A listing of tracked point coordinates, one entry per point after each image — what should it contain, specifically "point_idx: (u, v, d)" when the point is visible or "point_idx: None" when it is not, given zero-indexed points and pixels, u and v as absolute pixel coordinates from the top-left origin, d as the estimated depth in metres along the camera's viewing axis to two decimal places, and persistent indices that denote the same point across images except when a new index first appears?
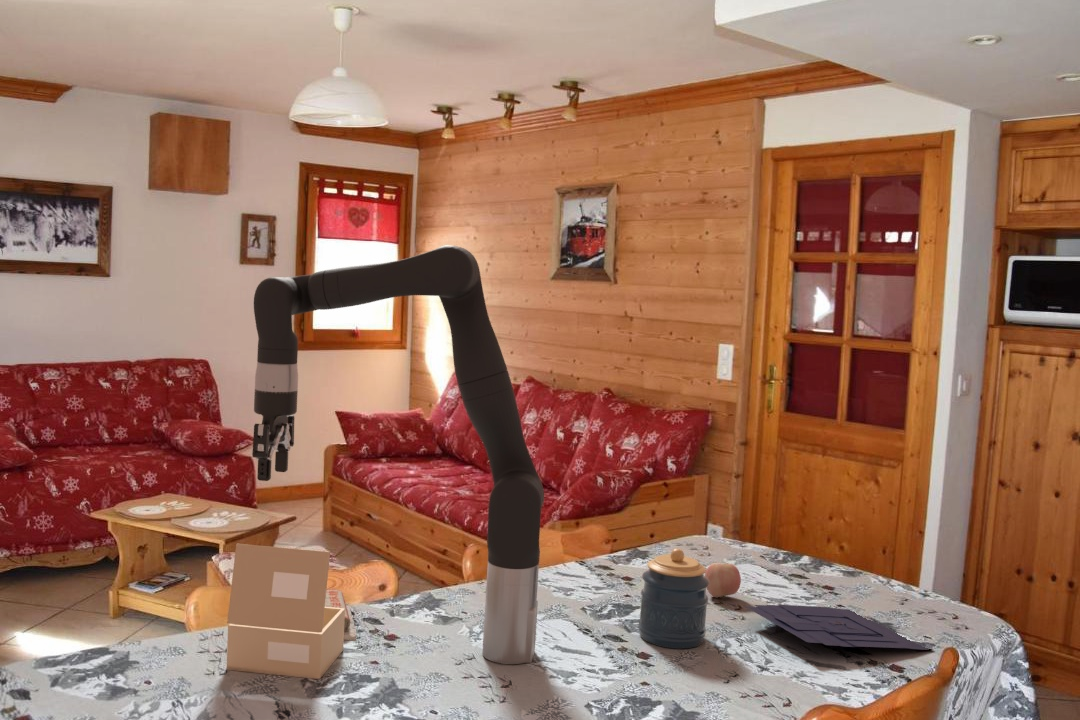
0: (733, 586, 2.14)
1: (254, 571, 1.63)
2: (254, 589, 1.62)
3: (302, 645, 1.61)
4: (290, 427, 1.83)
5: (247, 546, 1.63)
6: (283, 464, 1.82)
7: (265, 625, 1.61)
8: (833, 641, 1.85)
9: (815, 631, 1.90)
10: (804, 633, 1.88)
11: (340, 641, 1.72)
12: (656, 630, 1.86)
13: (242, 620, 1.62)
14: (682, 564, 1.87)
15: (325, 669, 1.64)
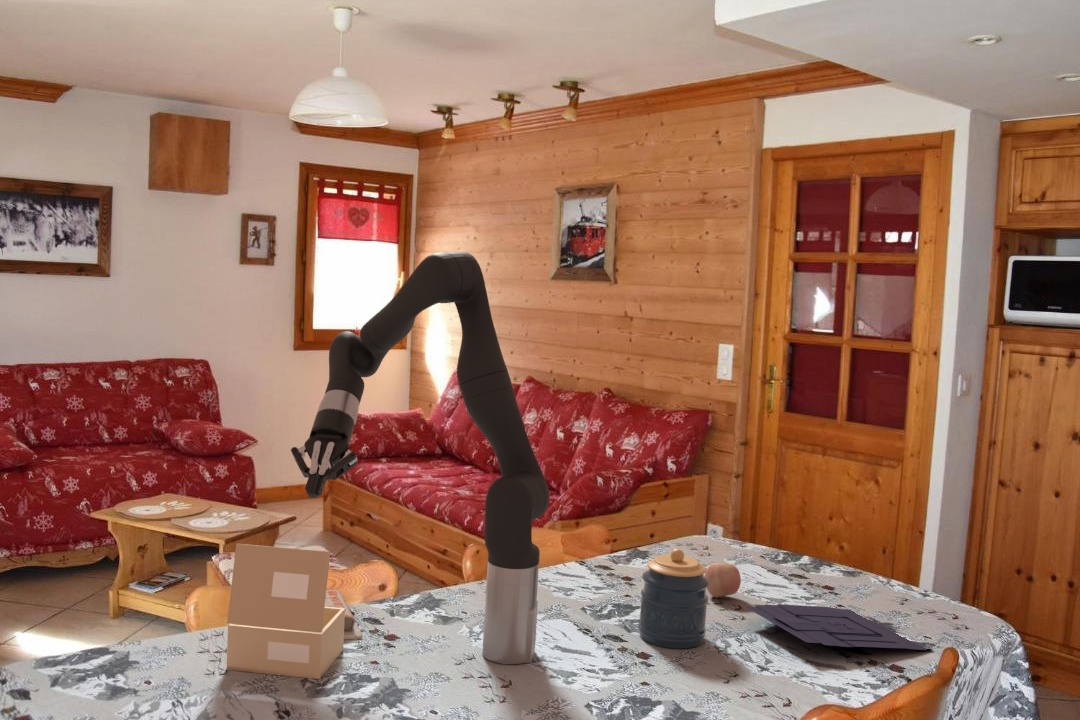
0: (733, 586, 2.14)
1: (254, 571, 1.63)
2: (254, 589, 1.62)
3: (302, 645, 1.61)
4: None
5: (247, 546, 1.63)
6: None
7: (265, 625, 1.61)
8: (832, 641, 1.85)
9: (814, 631, 1.90)
10: (803, 633, 1.88)
11: (340, 641, 1.72)
12: (656, 630, 1.86)
13: (242, 620, 1.62)
14: (682, 564, 1.87)
15: (325, 669, 1.64)
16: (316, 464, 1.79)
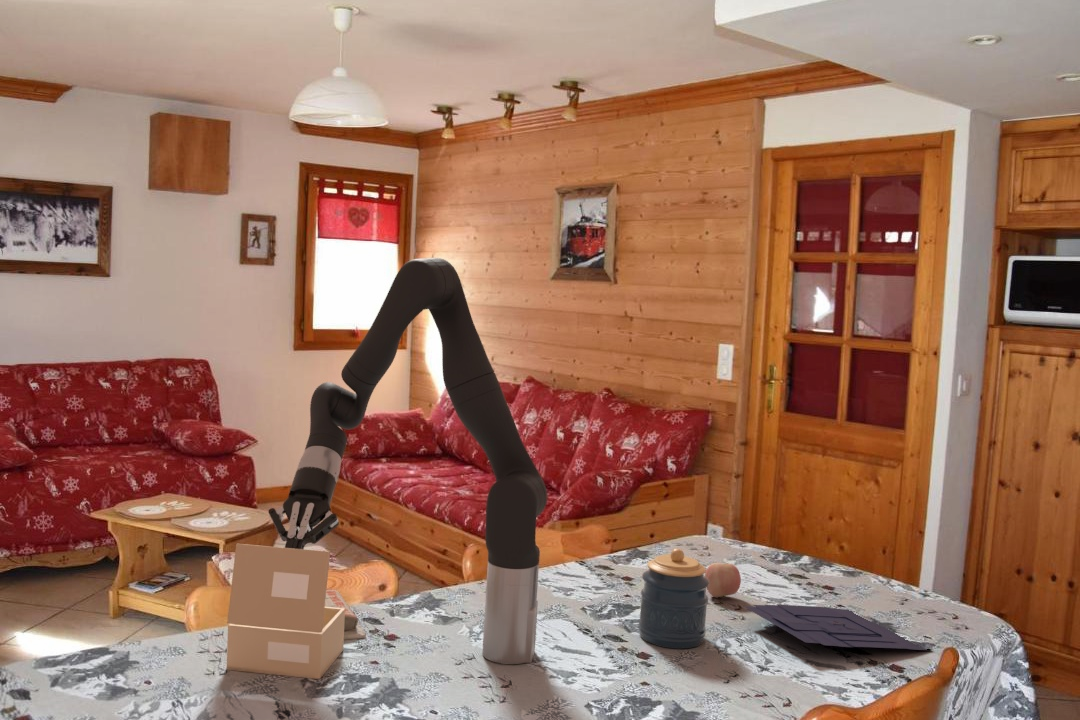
0: (733, 586, 2.14)
1: (254, 571, 1.63)
2: (254, 589, 1.62)
3: (302, 645, 1.61)
4: None
5: (247, 546, 1.63)
6: None
7: (265, 625, 1.61)
8: (831, 641, 1.85)
9: (813, 631, 1.90)
10: (802, 633, 1.88)
11: (340, 641, 1.72)
12: (656, 630, 1.86)
13: (242, 620, 1.62)
14: (682, 564, 1.87)
15: (325, 669, 1.64)
16: (295, 527, 1.70)
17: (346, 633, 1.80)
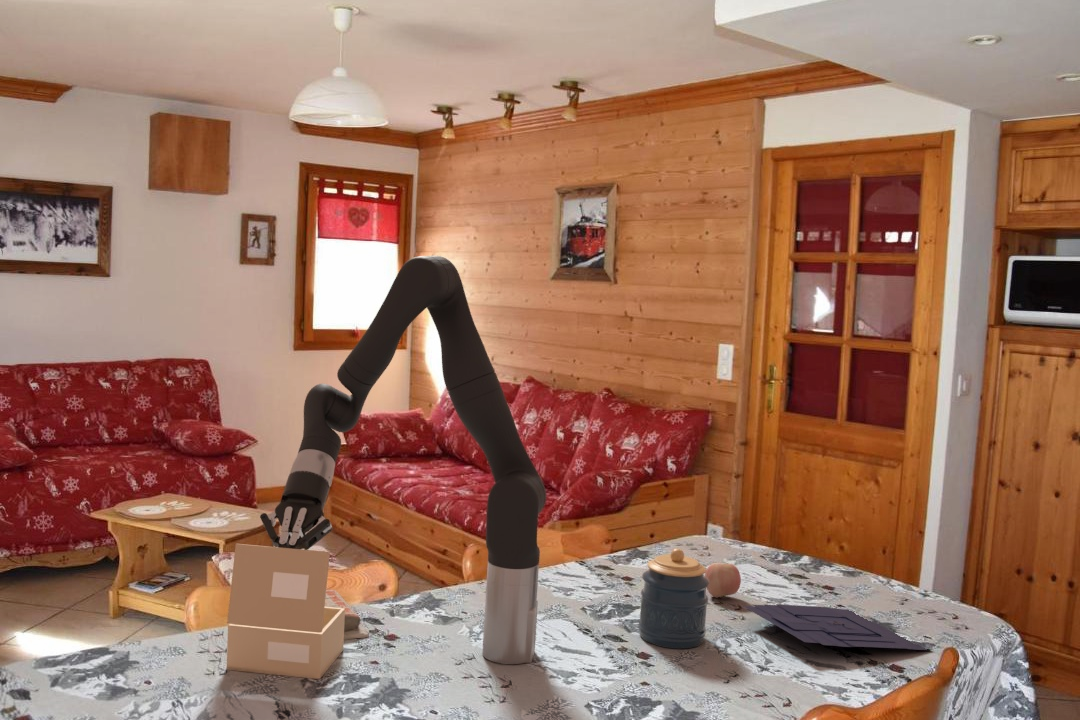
0: (733, 586, 2.14)
1: (254, 571, 1.62)
2: (253, 589, 1.62)
3: (302, 645, 1.61)
4: None
5: (246, 546, 1.63)
6: None
7: (265, 625, 1.61)
8: (831, 641, 1.85)
9: (813, 631, 1.90)
10: (802, 633, 1.88)
11: (340, 641, 1.72)
12: (656, 630, 1.86)
13: (242, 620, 1.62)
14: (682, 564, 1.87)
15: (325, 669, 1.64)
16: (287, 533, 1.66)
17: (349, 632, 1.81)
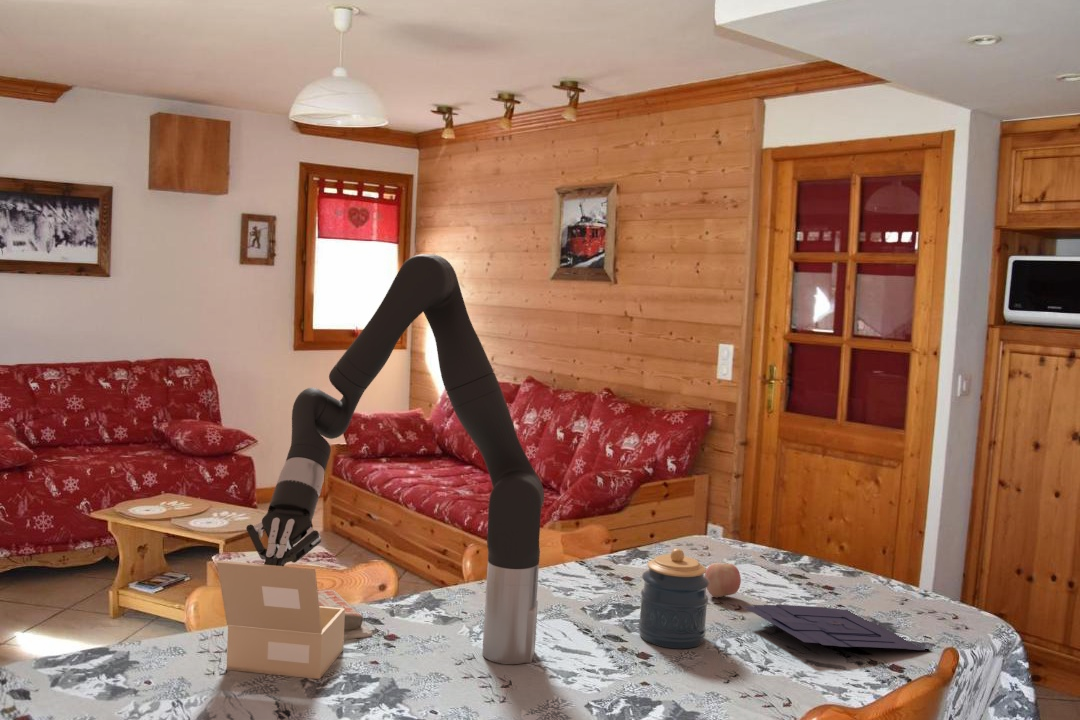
0: (733, 586, 2.14)
1: (242, 584, 1.58)
2: (245, 599, 1.59)
3: (302, 645, 1.61)
4: None
5: (228, 564, 1.56)
6: None
7: (265, 627, 1.61)
8: (830, 641, 1.85)
9: (812, 631, 1.90)
10: (801, 633, 1.88)
11: (340, 641, 1.72)
12: (656, 630, 1.86)
13: (241, 623, 1.61)
14: (682, 564, 1.87)
15: (325, 669, 1.64)
16: (274, 545, 1.60)
17: (353, 632, 1.81)
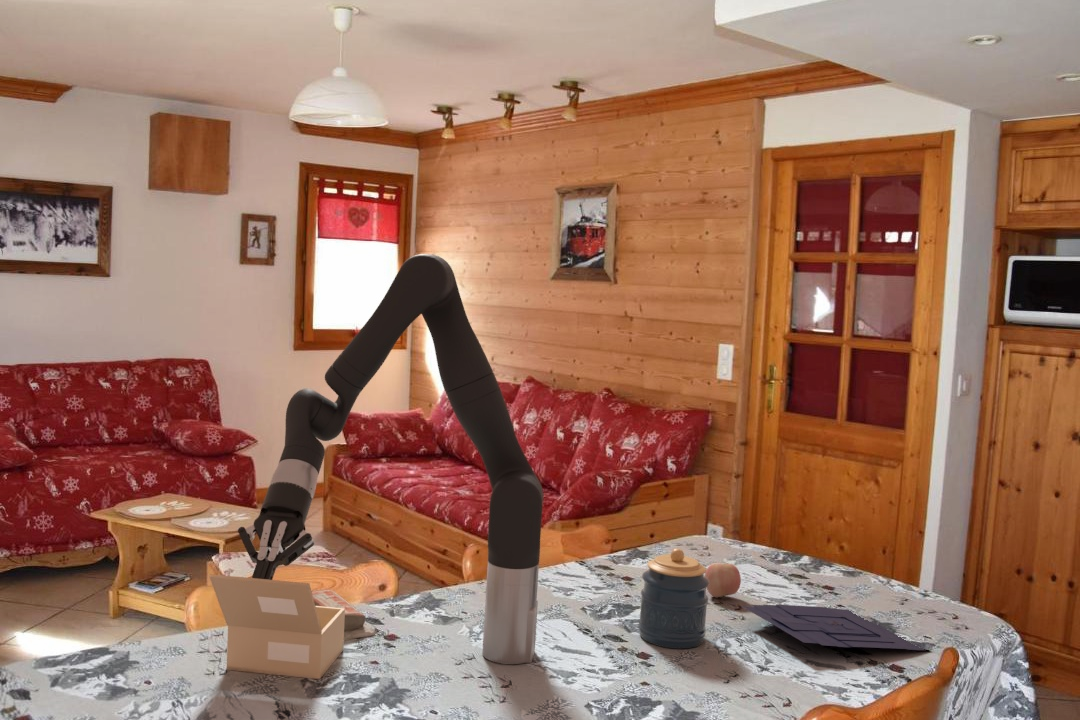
0: (732, 586, 2.14)
1: (237, 595, 1.56)
2: (242, 606, 1.58)
3: (302, 645, 1.61)
4: None
5: (221, 579, 1.54)
6: None
7: (265, 628, 1.61)
8: (829, 641, 1.85)
9: (812, 631, 1.90)
10: (801, 633, 1.88)
11: (340, 641, 1.72)
12: (656, 629, 1.86)
13: (241, 624, 1.61)
14: (682, 564, 1.87)
15: (325, 669, 1.64)
16: (265, 548, 1.57)
17: (356, 631, 1.82)
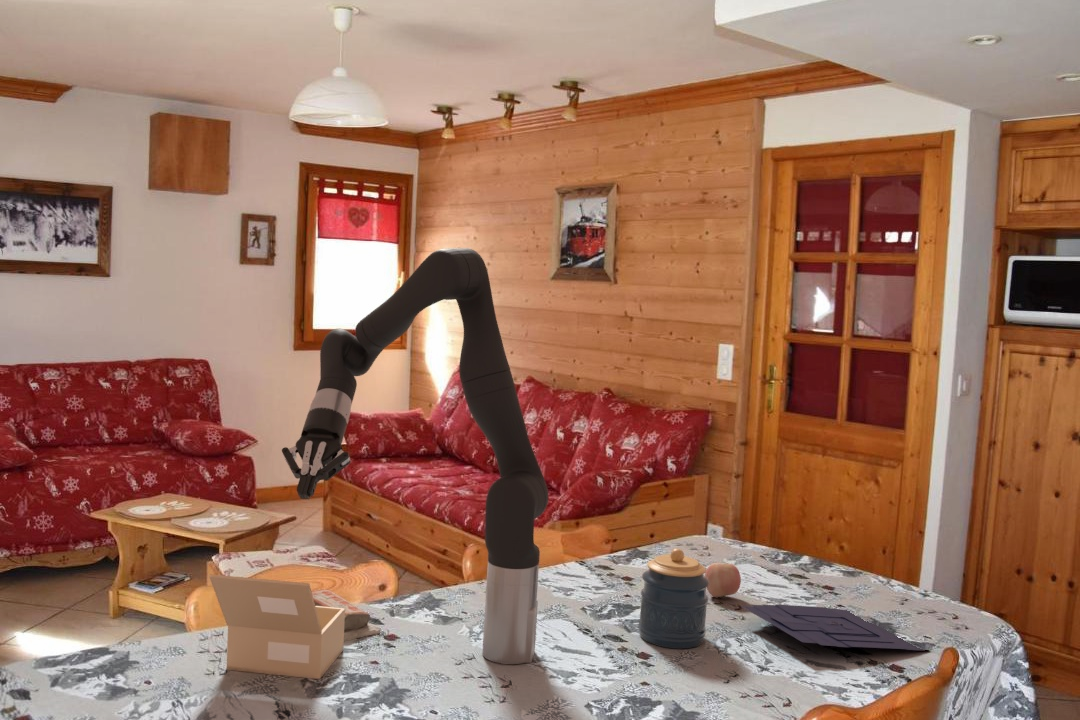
0: (733, 586, 2.14)
1: (237, 595, 1.56)
2: (242, 606, 1.58)
3: (302, 645, 1.61)
4: None
5: (221, 579, 1.54)
6: None
7: (265, 628, 1.61)
8: (828, 641, 1.85)
9: (811, 631, 1.90)
10: (800, 633, 1.87)
11: (340, 641, 1.72)
12: (656, 630, 1.86)
13: (241, 624, 1.61)
14: (681, 564, 1.87)
15: (325, 669, 1.64)
16: (307, 464, 1.75)
17: (361, 630, 1.82)
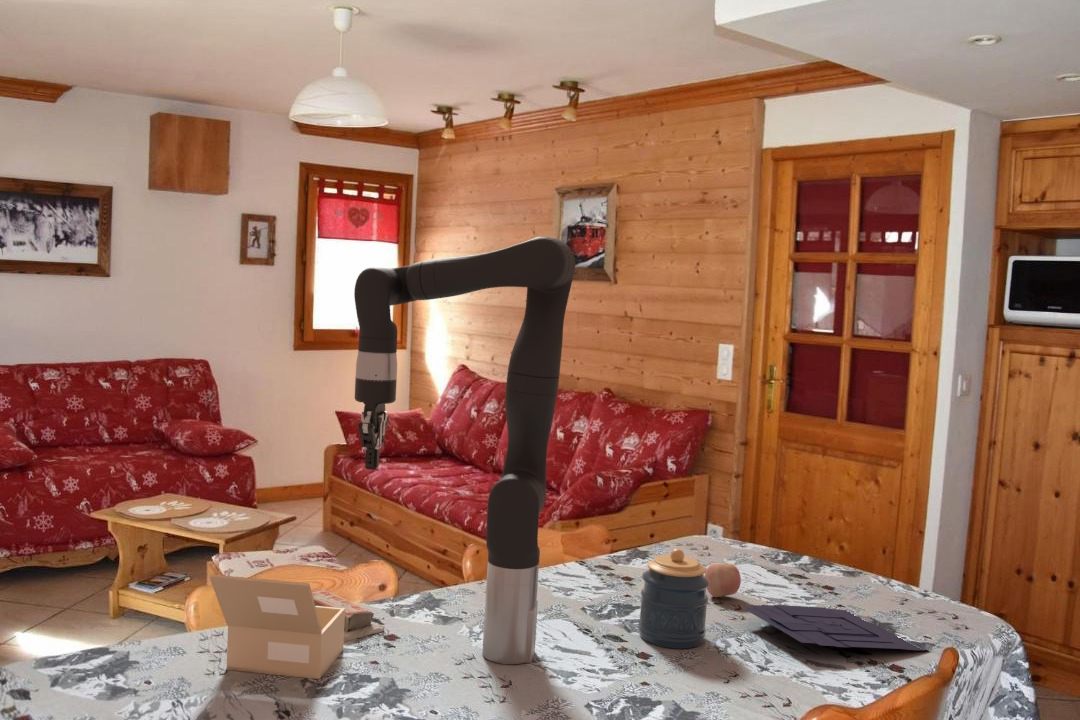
0: (733, 586, 2.14)
1: (237, 595, 1.56)
2: (242, 606, 1.58)
3: (302, 645, 1.61)
4: None
5: (221, 579, 1.54)
6: None
7: (265, 628, 1.61)
8: (828, 641, 1.85)
9: (810, 631, 1.90)
10: (799, 633, 1.87)
11: (340, 641, 1.72)
12: (656, 630, 1.86)
13: (241, 624, 1.61)
14: (682, 564, 1.87)
15: (325, 669, 1.64)
16: (378, 438, 1.81)
17: (366, 629, 1.83)
